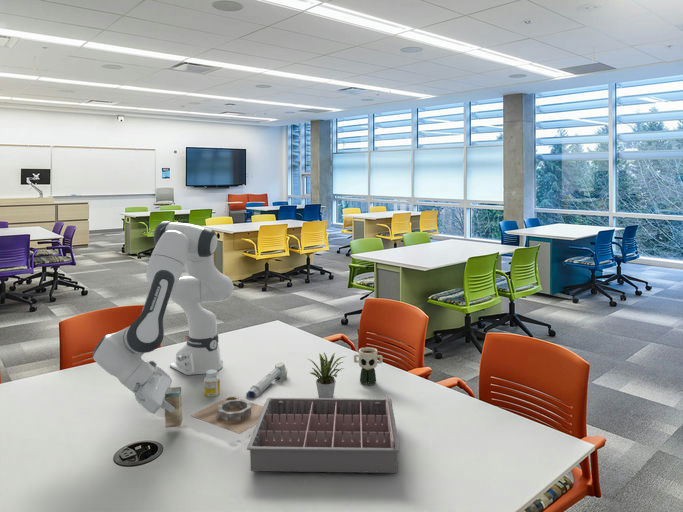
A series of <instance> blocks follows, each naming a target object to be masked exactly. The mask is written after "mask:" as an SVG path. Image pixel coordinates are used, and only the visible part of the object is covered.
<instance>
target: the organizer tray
mask: <svg viewBox="0 0 683 512" xmlns="http://www.w3.org/2000/svg"><path fill="white" fill-rule="evenodd" d="M396 425H397V424H396V420H395V414H394V408H393V402H392V399H391V398H388V394H385V398H343V397H342V398H337V397H335V398H334V397H333V398H319V397H317V398H316V397H267V398H266V401H265V404H264V408H263V410H262V413H261V415H260V418H259V420H258V423H257V424H256V425H255V427H254V430H253V433H252V435H251V437H250V440H249V443H248V445H247V447H246V450H248V451H249V453H250V455H249V457H250V460H249V461H250V472H307V473H308V472H309V473H312V472H313V473H314V472H316V473H317V472H318V473H319V472H321V473H323V472H324V473H381V474H382V473H386V474H388V473H389V474H390V473H393V474H394V473H397V463H398V462H397V454H398V452H400V451H401V450H400V444H399V443H400V442H399V438H398V432H397V426H396Z"/></svg>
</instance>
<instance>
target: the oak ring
mask: <svg viewBox="0 0 683 512" xmlns="http://www.w3.org/2000/svg"><path fill="white" fill-rule="evenodd" d="M223 399H224V402H225V401H227V400H228V401H229V400H235V399H240V397H239V396H236V395H229V396H227V397H224V398H223Z"/></svg>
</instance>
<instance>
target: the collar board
mask: <svg viewBox="0 0 683 512" xmlns="http://www.w3.org/2000/svg"><path fill="white" fill-rule="evenodd" d="M263 408H264V406H263V405H260V404H257V403H254V402H251V401H248V400H245V399H243V398H239V399H235V400H229V401H228V400H227V401H225V402H224V398H223V399H222V400H219V401H218V402H215V403H213V404H211V405H210V406H208V407H206V408H203V409H202V410H201V409H200V411H197V412H196V413H193V414H191V415H190V417H192V418H196V419H199V420H201V421H204V422H207V423H209V424H212V425H214V426H217V427H220V428H222V429H225V430H228V431H231V432H233V433H237V434H239V435H240V434H242V433H243V432H246V431H247V430H249V429H251V428H252V427H254V426H256V425H257V423H258V420H259V418H260V415H261V413H262V410H263Z"/></svg>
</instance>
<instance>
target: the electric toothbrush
mask: <svg viewBox="0 0 683 512" xmlns="http://www.w3.org/2000/svg"><path fill="white" fill-rule="evenodd" d="M285 378H286V379H287V378H288V369H287V368H286V366H285V363H284V362H278V363H276V364H275V366H274V368H273V369H272V370H271V371H270V372H269V373H268V374H267V375H266V376H264V377H263V378H262V379H260V380H259V381H258V382H257V383H256V384H254V385H252V386H251V387H250V389H248V391H247V392H245V393H246V394H245V395H246V397H248V398H253V399H256V398H257V397H259V396H260V395H262V393H263V392H264V391H265V390H266V389H267V388H268V387H269V386H270V385H271V383H273V382H274V380H275V379H276V380H275V381H283V380H286V379H285Z"/></svg>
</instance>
